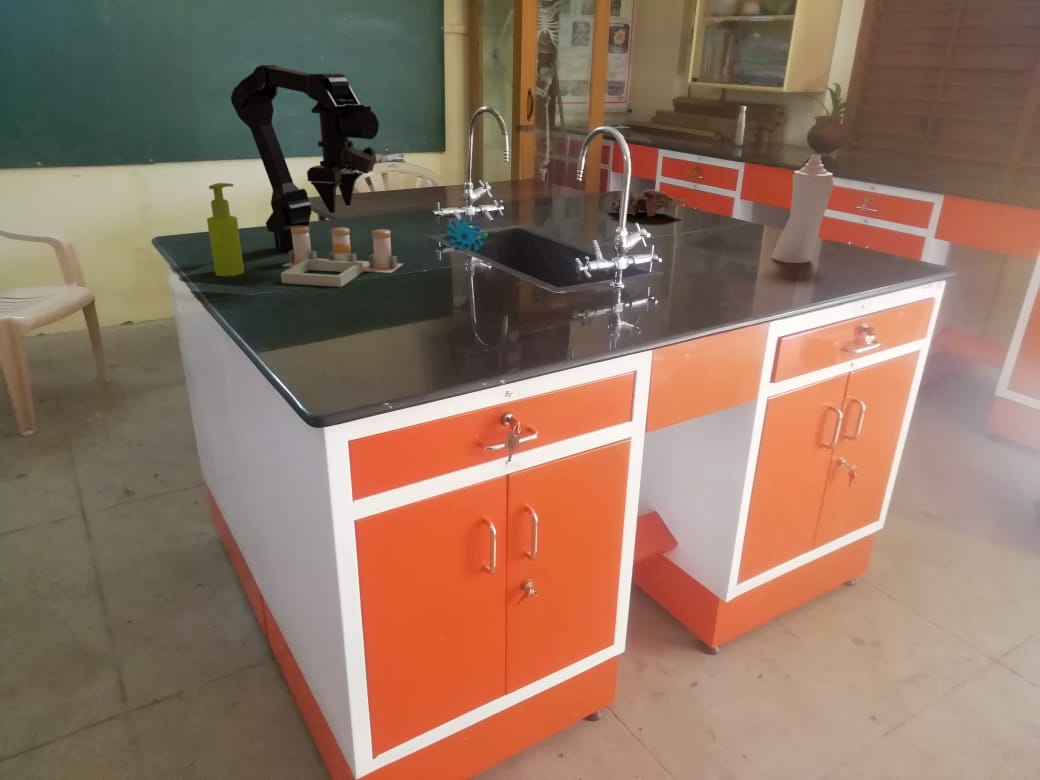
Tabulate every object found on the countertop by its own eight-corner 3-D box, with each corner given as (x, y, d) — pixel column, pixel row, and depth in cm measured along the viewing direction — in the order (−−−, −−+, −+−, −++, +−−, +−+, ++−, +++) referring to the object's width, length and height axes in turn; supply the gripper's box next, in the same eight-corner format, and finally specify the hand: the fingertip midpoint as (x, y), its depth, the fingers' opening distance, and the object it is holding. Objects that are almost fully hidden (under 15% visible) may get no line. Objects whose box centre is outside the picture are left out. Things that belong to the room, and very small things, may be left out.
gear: (450, 249, 186) (444, 214, 189) (443, 262, 191) (437, 228, 194) (492, 251, 191) (485, 217, 194) (484, 264, 196) (478, 231, 199)
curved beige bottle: (822, 258, 188) (840, 152, 178) (818, 268, 179) (837, 157, 169) (773, 253, 193) (789, 149, 183) (767, 262, 184) (782, 154, 174)
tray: (282, 289, 159) (280, 273, 157) (307, 274, 170) (306, 259, 168) (341, 293, 157) (340, 276, 155) (363, 278, 167) (362, 262, 166)
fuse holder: (282, 272, 171) (280, 254, 170) (298, 263, 178) (296, 246, 177) (391, 279, 167) (390, 261, 165) (403, 270, 174) (402, 252, 172)
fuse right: (371, 268, 169) (369, 232, 166) (378, 264, 173) (375, 228, 169) (388, 269, 168) (386, 233, 165) (395, 265, 172) (393, 229, 169)
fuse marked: (331, 266, 171) (327, 230, 167) (338, 262, 174) (335, 226, 171) (348, 267, 170) (345, 231, 167) (354, 263, 174) (352, 227, 170)
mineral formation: (694, 215, 230) (694, 183, 231) (661, 206, 220) (661, 172, 220) (635, 228, 247) (635, 198, 247) (602, 220, 236) (602, 188, 236)
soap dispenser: (253, 275, 168) (241, 182, 160) (233, 283, 162) (219, 187, 154) (231, 273, 170) (218, 180, 162) (210, 281, 164) (195, 185, 156)
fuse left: (291, 264, 172) (287, 228, 169) (299, 259, 176) (295, 224, 173) (307, 265, 172) (304, 229, 168) (315, 260, 175) (312, 225, 172)
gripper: (354, 142, 156) (359, 219, 163) (384, 133, 173) (388, 203, 179) (302, 140, 158) (309, 216, 164) (337, 131, 175) (343, 201, 181)
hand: (340, 208), depth 172 cm, fingers open, 9 cm apart
